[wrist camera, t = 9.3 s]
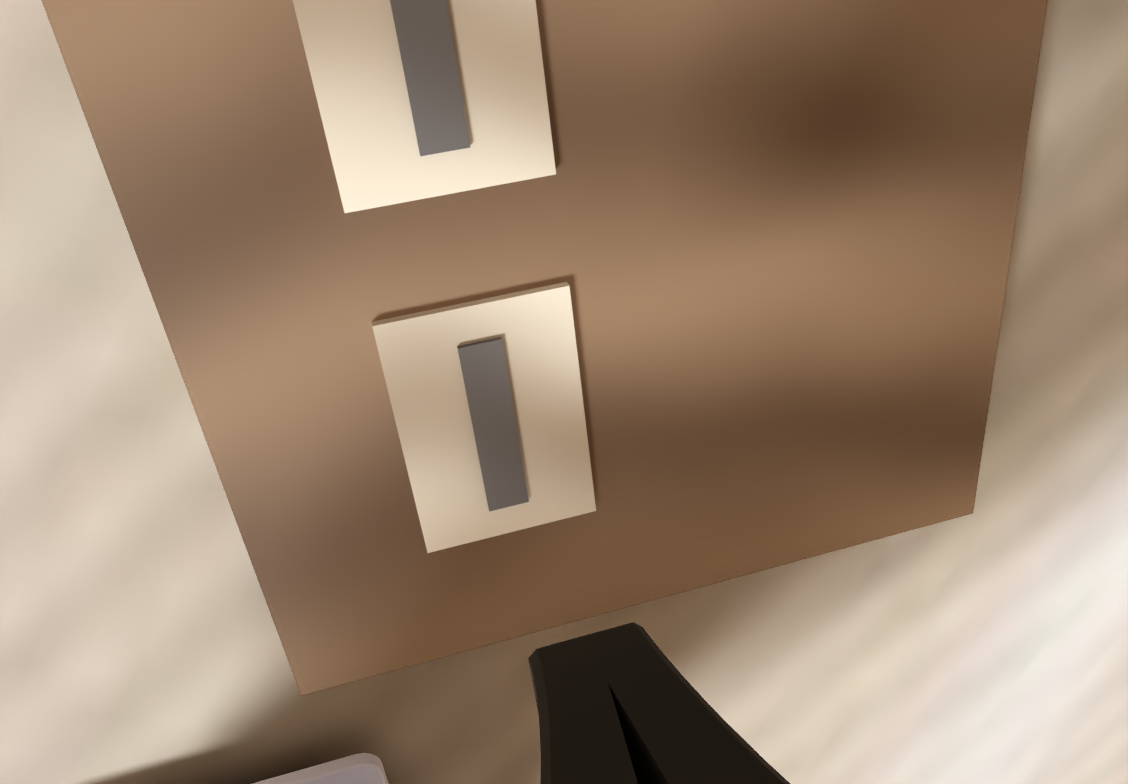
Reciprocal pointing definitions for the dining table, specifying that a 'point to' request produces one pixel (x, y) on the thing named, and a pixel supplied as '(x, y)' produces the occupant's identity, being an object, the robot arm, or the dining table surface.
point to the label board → (563, 286)
